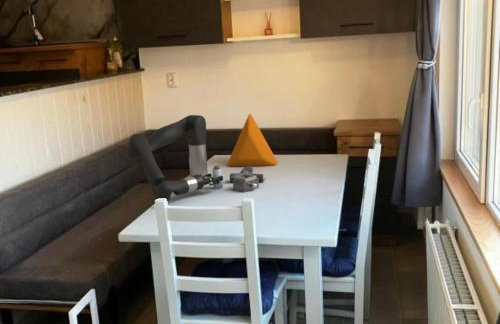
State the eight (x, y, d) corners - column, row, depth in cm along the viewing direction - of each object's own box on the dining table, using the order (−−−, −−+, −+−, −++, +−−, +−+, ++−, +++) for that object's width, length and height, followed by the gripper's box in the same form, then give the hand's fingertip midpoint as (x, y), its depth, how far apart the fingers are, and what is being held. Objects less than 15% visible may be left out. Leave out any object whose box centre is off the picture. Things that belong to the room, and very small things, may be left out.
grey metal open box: (233, 189, 275) (232, 177, 273) (247, 185, 282) (246, 172, 280) (249, 193, 267) (248, 180, 266) (263, 188, 274) (262, 175, 272)
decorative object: (225, 168, 320) (221, 117, 314) (229, 162, 335) (226, 113, 329) (276, 167, 316) (274, 115, 309) (278, 161, 331) (276, 111, 324)
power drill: (272, 174, 302) (265, 184, 283) (238, 174, 306) (229, 184, 287) (271, 165, 301) (264, 174, 282) (238, 165, 305) (229, 174, 286)
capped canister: (211, 188, 280) (210, 166, 277) (218, 186, 283) (217, 165, 280) (217, 189, 276) (216, 167, 274) (224, 187, 280) (223, 166, 277)
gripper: (200, 178, 261) (226, 171, 272) (181, 174, 271) (206, 167, 282) (202, 193, 263) (227, 186, 274) (183, 189, 273) (208, 181, 284)
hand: (216, 176), depth 278 cm, fingers open, 8 cm apart
